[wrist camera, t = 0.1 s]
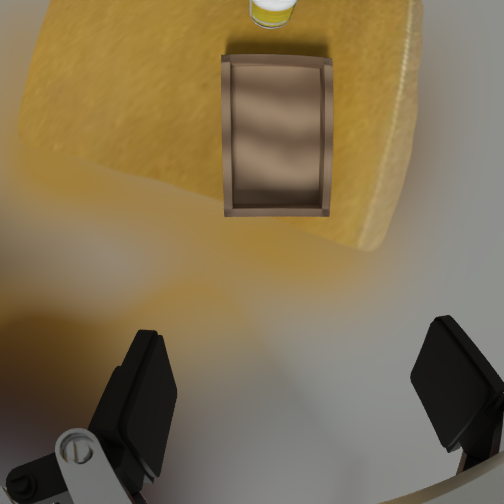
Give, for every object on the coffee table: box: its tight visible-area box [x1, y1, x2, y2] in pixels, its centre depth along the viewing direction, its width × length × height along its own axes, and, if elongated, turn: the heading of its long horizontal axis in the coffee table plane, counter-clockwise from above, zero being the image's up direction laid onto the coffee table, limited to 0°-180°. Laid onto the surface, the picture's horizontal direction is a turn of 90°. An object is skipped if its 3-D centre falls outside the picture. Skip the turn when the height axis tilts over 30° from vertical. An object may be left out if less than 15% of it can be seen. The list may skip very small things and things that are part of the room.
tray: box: [221, 54, 333, 217], centre depth 33 cm, size 20×13×4 cm, turn 0°
